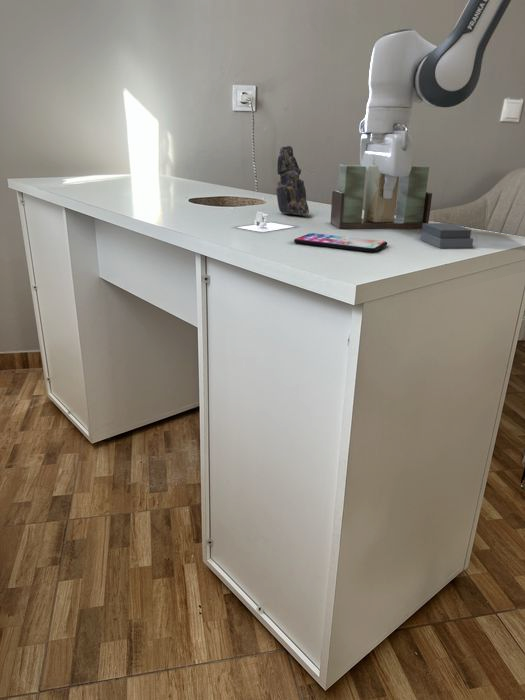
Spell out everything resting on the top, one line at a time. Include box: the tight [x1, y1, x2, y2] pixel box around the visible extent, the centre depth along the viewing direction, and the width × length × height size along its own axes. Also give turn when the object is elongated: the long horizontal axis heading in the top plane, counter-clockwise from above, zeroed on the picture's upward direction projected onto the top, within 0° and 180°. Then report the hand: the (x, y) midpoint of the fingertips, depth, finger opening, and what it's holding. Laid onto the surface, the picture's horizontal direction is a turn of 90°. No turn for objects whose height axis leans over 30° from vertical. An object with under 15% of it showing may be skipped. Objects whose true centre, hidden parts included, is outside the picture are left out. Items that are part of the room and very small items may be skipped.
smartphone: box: [293, 232, 388, 253], centre depth 96 cm, size 8×1×15 cm
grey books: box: [420, 222, 474, 249], centre depth 99 cm, size 6×8×3 cm
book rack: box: [330, 164, 433, 230], centre depth 115 cm, size 19×7×12 cm, turn 98°
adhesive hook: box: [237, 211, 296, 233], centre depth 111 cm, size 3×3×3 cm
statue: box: [275, 145, 310, 216], centre depth 128 cm, size 6×12×15 cm, turn 28°
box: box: [363, 165, 400, 222], centre depth 114 cm, size 5×4×11 cm
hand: (381, 196), depth 115 cm, fingers closed on box, 5 cm apart
